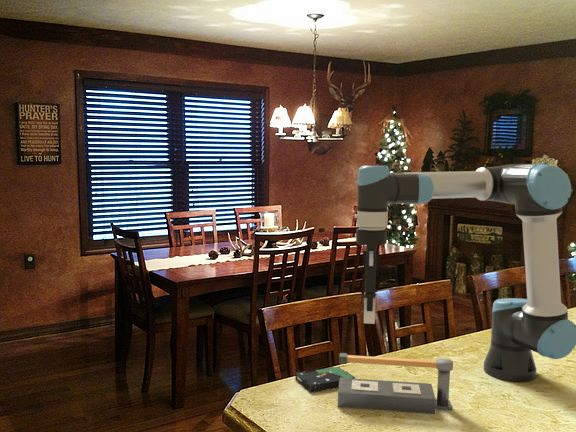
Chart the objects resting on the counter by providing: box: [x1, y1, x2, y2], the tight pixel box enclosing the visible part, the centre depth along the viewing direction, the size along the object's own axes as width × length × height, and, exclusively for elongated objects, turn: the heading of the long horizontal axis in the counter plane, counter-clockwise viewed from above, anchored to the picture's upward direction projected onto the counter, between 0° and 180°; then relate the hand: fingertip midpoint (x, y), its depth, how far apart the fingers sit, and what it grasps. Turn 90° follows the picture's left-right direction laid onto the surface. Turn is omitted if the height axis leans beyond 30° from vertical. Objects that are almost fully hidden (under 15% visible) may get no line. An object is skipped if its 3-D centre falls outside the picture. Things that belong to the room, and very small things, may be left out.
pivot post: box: [435, 369, 453, 411], centre depth 145 cm, size 4×4×10 cm
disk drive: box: [294, 366, 356, 394], centre depth 160 cm, size 10×3×15 cm
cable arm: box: [338, 352, 454, 372], centre depth 146 cm, size 30×4×2 cm, turn 82°
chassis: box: [337, 378, 437, 415], centre depth 147 cm, size 25×10×4 cm, turn 82°
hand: (369, 320), depth 138 cm, fingers open, 4 cm apart
